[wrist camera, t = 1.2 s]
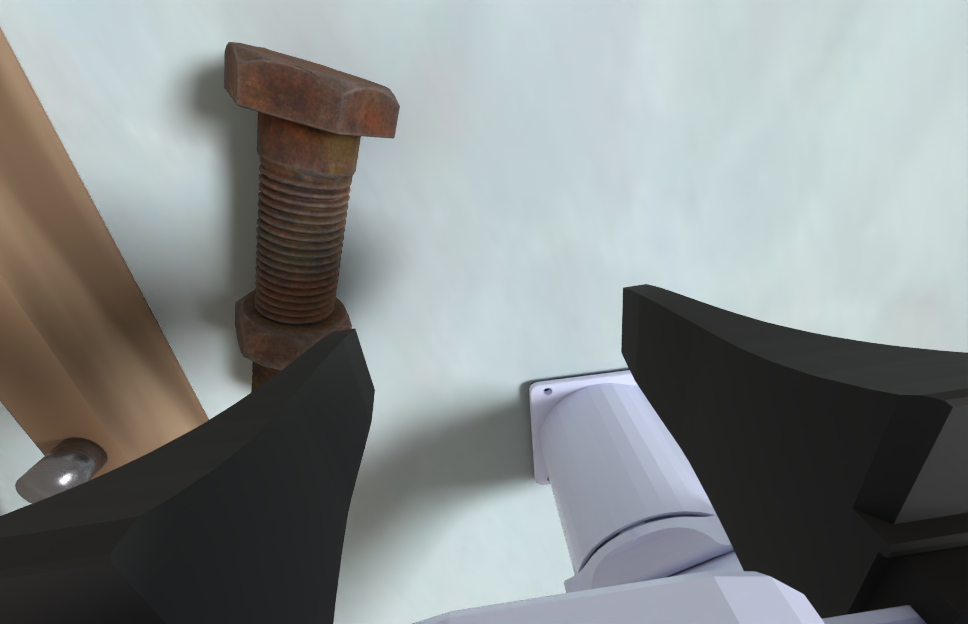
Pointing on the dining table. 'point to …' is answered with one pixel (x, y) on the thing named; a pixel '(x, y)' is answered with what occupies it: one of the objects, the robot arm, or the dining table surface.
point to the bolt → (300, 195)
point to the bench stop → (73, 315)
